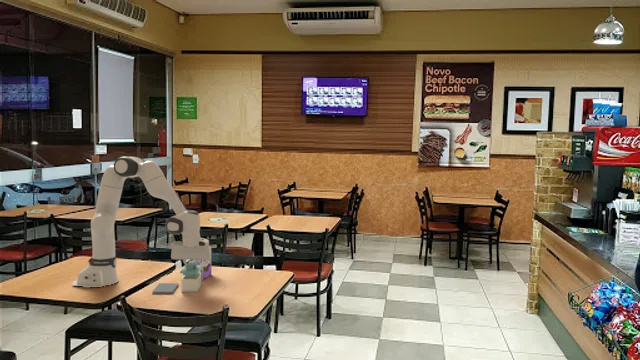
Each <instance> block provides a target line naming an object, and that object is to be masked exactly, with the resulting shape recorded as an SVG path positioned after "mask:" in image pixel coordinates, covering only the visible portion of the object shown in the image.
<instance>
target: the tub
mask: <svg viewBox="0 0 640 360" xmlns="http://www.w3.org/2000/svg"><path fill="white" fill-rule="evenodd" d="M180 283H181V285H180V286H181V288H180V289H181V293H182V294H183V293H184V294H185V293H187V294H188V293H189V294H192V293H194V294H197V293H198V292H199V290H200V288H201V287H202V281H201V273H198V274H196V275H183V276H182V277H181V282H180Z"/></svg>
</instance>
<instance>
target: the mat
mask: <svg viewBox="0 0 640 360" xmlns="http://www.w3.org/2000/svg"><path fill="white" fill-rule="evenodd" d="M178 286H179V283H177V282H176V283H175V282H173V283H172V282H167V283H166V282H163V283H158V284H157V286H156V287H155V288H154V289H153V290H152V292H151V294H152V295H173V294H174V293H175V292H176V290H177V288H178Z"/></svg>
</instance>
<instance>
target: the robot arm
mask: <svg viewBox="0 0 640 360" xmlns="http://www.w3.org/2000/svg"><path fill="white" fill-rule="evenodd" d="M128 178H140V179H141V181H142V182H143V185H144V187H145V188H146V190H147V192H148V193H149V194H150V196H152V197H154V198H156V199H161V200H163V201H166V202H167V203H168V204H169V205H170V207H171V209H172V210H173V211H174V213H175V214H174V215H173V216H170V217H167V219H166V220H165V223H164V225H165V226H164V227H165V231H167V233H169V234H170V235H179V234H180V235H182V240H181V241H175V240H174V241H172V242H171V244H170V249H171V253H170V258H171V259H172V260H182V262H183V264H184V266H185V268H187V264H188V262H187V260H192V259H196V261H197V263H196V264H194V268H197V264H198V262H199V260H209V259H210V258H211V259H212V247H211V246H210V240H209V239H207V238H204V237H201V233H200V230H201V217H200V213H199V212H198V211H196V210H193V209H187V207H186V206H185V204H184V202H183V201H182V199H181V198H180V196H179V194H178V193H177V192H176V191H175V189H174V187H172V186H171V184H170V183H169V181H168V180H167V178H166V176H165V174H164V172H163V171H162V169H161V168H160V166H159V165H158V164H157V162H155V161H154V160H147V161H146V160H144V159H143V158H140V157H137V156H120V157H118V158H116V159H115V161H114V162H113V165H109V166H107V167H106V168H105V170H104V173H103V175H102V177H101V181H100V183H99V185H100V186H99V188H98V189H99V190H98V194H97V198H96V203H95V209H94V215H93V217H92V219H91V220H90V233H91V244H92V256H90V258H89V259H88V261H87V263H88V265H87V266H85V267H84V268H83V269H81V270H80V271H79V272H78V274H77V278H76V280H74V281H73V282H72V285H73V286H72V287H74V286H83V287H82V288H90V287H101V286H104V287H106V286H105V285H109V286H111V285H110V284H113V285H115V284H114V283H116V282H118V281H120V279H119V278H118V277H119V276H118V273H117V256H116V239H115V237H116V235H115V223H116V219H117V215H118V210H119V206H120V202H121V201H120V200H121V197H122V194H123V190H124V189H123V188H124V183H125V181H126V179H128ZM210 247H211V248H210ZM118 283H119V282H118ZM116 284H117V283H116ZM101 288H102V287H101Z"/></svg>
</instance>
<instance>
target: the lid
mask: <svg viewBox="0 0 640 360" xmlns="http://www.w3.org/2000/svg"><path fill="white" fill-rule="evenodd" d="M194 264H195V261H192V260H189V261H188V262H187V268H185V265H184V266H183V267H182V269H181V270H180V271H179V273H180V274H181V275H183V276H184V275H196V274H198V272H199V270H200V269H201V267H202V265H197V268H194Z"/></svg>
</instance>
